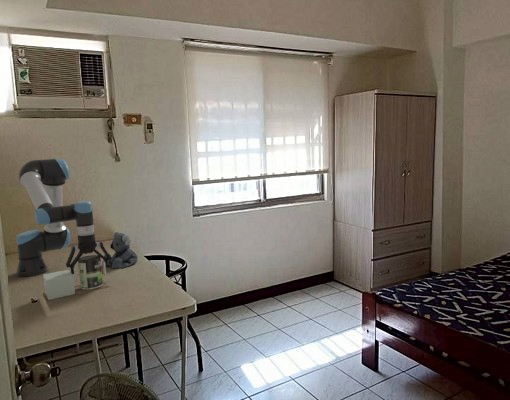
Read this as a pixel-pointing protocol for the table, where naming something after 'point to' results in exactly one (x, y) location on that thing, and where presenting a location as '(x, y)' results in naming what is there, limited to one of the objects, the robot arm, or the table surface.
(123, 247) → the koala plush
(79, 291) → the board
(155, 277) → the table surface
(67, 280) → the pale green block
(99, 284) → the coffee can
